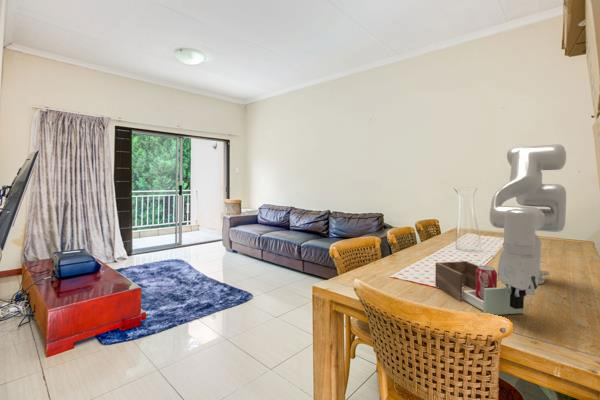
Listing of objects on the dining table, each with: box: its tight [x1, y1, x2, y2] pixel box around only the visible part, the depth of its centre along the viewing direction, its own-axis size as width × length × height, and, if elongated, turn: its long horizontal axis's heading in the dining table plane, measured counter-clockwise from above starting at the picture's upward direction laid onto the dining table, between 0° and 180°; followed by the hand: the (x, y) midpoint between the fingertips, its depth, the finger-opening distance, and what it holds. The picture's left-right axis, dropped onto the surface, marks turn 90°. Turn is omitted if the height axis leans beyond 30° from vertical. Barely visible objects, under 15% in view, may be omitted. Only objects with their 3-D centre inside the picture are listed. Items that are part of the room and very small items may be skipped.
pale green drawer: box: [462, 286, 524, 316], centre depth 99 cm, size 14×15×9 cm
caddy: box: [434, 260, 479, 302], centre depth 111 cm, size 14×15×10 cm
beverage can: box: [475, 265, 498, 301], centre depth 100 cm, size 6×6×12 cm
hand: (516, 307), depth 87 cm, fingers closed
